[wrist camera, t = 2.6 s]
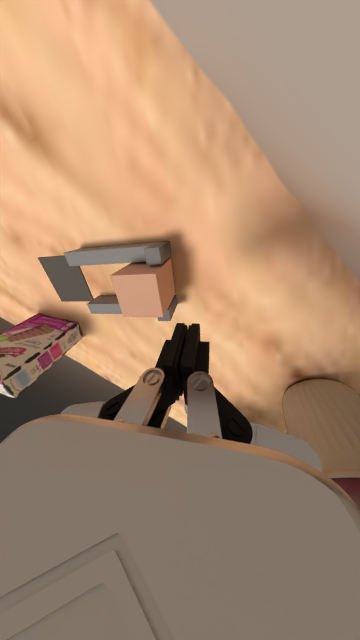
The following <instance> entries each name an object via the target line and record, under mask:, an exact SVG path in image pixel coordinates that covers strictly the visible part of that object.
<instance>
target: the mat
mask: <svg viewBox="0 0 360 640" xmlns="http://www.w3.org/2000/svg"><path fill="white" fill-rule="evenodd" d="M38 259H39V261H40V263H41V265H42V266H43V268H44V270H45V272H46V274H47V275H48V277H49V279H50V281H51V283H52V284H53V286H54V288H55V290H56V292H57V294H58V295H59V297H60V299H61V301H92V300H94V299H93V297H92V295H91V292H90V290H89V288H88V285H87V283H86V281H85V278H84V276H83V274H82V272H81V269H80V267H79V266H69V264H68V262H67V260H66V257H65V256H55V257H42V258H38Z"/></svg>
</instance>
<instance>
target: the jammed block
mask: <svg viewBox="0 0 360 640" xmlns="http://www.w3.org/2000/svg"><path fill="white" fill-rule="evenodd" d="M110 278H111V281H112V284H113V287H114V290H115V293H116V296H117V299H118V302H119V305H120V308H121V311H122V313H123V316H124V317H164V315H165V313H166V311H167V309H168V307H169V305H170V303H171V301H172V299H173V297H174V295H175V286H174V278H173V270H172V261H171V258H167V259H166V260H165V261H164V262H163V263H162V264H154V265H147V263H146V262H132V263H131V264H129V265H127V266H125V267H124V268H122V269H120V270H119V271H117V272H115V273H114V274H112V275H110Z"/></svg>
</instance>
